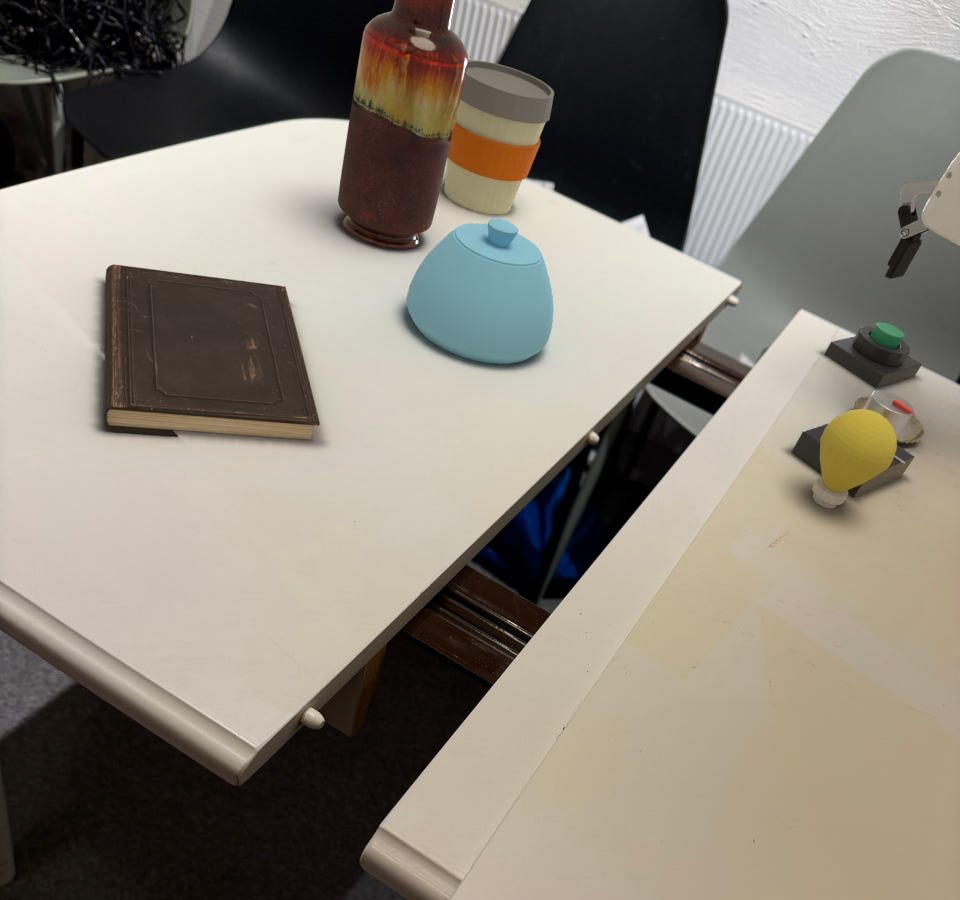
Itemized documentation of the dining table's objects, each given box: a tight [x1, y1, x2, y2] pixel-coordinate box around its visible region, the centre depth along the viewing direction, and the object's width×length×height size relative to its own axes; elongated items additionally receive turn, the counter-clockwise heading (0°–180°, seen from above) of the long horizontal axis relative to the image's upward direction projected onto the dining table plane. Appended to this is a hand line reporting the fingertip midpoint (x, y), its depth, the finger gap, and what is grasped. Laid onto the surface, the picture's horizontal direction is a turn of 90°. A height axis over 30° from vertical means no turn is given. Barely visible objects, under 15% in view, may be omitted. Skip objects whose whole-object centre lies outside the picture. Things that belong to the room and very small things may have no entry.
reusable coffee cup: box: [443, 59, 555, 216], centre depth 123 cm, size 13×13×15 cm
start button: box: [870, 321, 905, 349], centre depth 119 cm, size 4×4×2 cm
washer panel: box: [790, 422, 915, 498], centre depth 100 cm, size 11×9×3 cm
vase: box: [337, 0, 469, 251], centre depth 104 cm, size 11×11×26 cm
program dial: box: [863, 389, 915, 439], centre depth 98 cm, size 4×4×5 cm
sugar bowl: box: [406, 218, 554, 365], centre depth 96 cm, size 15×15×12 cm
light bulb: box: [811, 409, 898, 509], centre depth 90 cm, size 7×7×10 cm
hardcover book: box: [103, 264, 321, 441], centre depth 83 cm, size 16×23×2 cm
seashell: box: [853, 396, 925, 445], centre depth 109 cm, size 8×3×8 cm
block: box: [823, 325, 923, 389], centre depth 120 cm, size 10×8×4 cm
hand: (931, 298), depth 102 cm, fingers open, 9 cm apart
